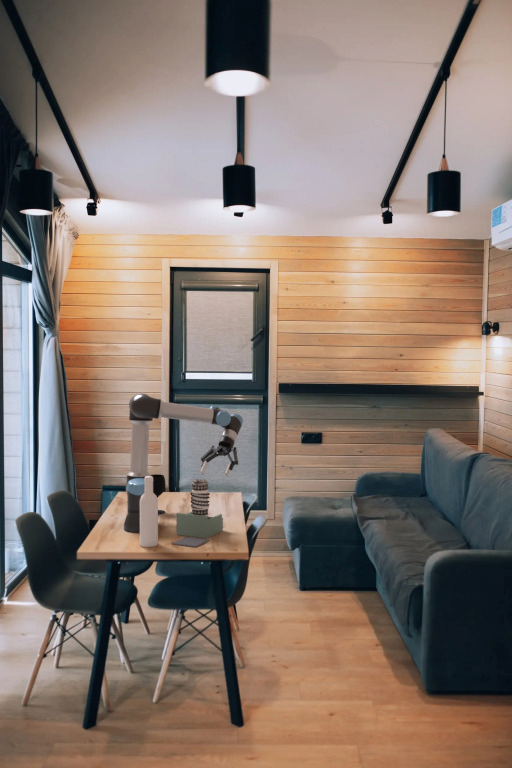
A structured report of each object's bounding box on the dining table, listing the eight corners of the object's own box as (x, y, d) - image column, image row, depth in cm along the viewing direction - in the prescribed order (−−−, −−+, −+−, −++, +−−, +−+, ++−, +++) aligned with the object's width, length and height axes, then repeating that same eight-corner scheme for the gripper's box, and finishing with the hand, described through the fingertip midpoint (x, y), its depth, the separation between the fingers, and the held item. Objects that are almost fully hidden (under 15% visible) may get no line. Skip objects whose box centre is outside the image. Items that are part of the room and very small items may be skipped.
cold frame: (176, 534, 297) (176, 513, 297) (193, 526, 311) (193, 506, 311) (206, 538, 290) (206, 516, 290) (222, 530, 305) (222, 509, 304)
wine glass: (146, 515, 335) (146, 477, 335) (145, 511, 345) (145, 474, 345) (166, 514, 338) (166, 476, 338) (164, 510, 348) (164, 473, 348)
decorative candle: (192, 535, 295) (192, 482, 294) (188, 530, 304) (188, 478, 303) (211, 534, 298) (211, 481, 297) (207, 529, 306) (207, 477, 306)
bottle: (158, 542, 284) (158, 475, 283) (158, 546, 276) (158, 478, 275) (139, 542, 283) (139, 475, 282) (139, 547, 275) (139, 478, 274)
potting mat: (172, 544, 280) (172, 543, 280) (186, 537, 291) (186, 536, 291) (195, 547, 275) (195, 546, 275) (209, 540, 286) (209, 539, 286)
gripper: (252, 446, 323) (239, 480, 309) (208, 443, 333) (194, 476, 319) (247, 436, 318) (234, 471, 304) (203, 434, 328) (189, 467, 314)
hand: (214, 474), depth 312 cm, fingers open, 13 cm apart
